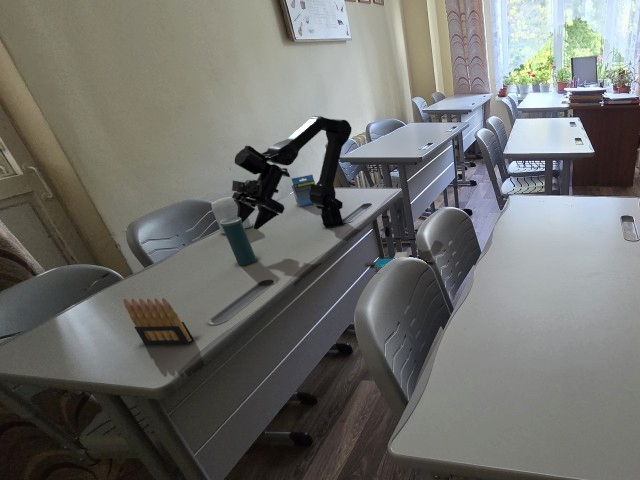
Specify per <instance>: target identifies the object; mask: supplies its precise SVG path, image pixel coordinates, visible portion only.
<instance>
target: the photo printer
mask: <svg viewBox="0 0 640 480" xmlns="http://www.w3.org/2000/svg"><path fill="white" fill-rule="evenodd" d="M235 200H236V199H235ZM210 206H211V210H212V213H213V215H214V217H215V220H216V222H217V225H218V227H219V229H220V232H221V233H222V234H223V235H225V232H224V230H223V228H222V226H221V224H220V222H221V221H222V220H224V219H227V218H232V217H237V214H238V206H237V204H236V202H235V201H234V199H233V198H232V196H227V197H222V198H219V199H217V200H215V201H213V202H211V205H210ZM242 224H243V227H244V229H245V230H246V229H248V228H252V222H251V219H250V216H249V217H248V218H247V219H246V220H245V221H244V222H243V223H242Z"/></svg>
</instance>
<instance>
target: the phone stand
mask: <svg viewBox="0 0 640 480" xmlns="http://www.w3.org/2000/svg"><path fill="white" fill-rule="evenodd" d="M408 254H409V252H408V251H398V252H395V255H394V256H393V258H378V260H377V261H370V262H365V263H364V264H363V265H364V267H365V268H366V267H368V269H375V271H374V274H378V273H377V272H378V271H379V270H380V269H381V268H382V267H383V266H384V265H386V264H387V263H388V262H389V261H391V260H392V259H394V258H398V257H406V258H408V256H409V255H408ZM414 257H415V256H414ZM415 258H418V259H419V257H415ZM427 262H428V264H432V260H430V261H427Z"/></svg>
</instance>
